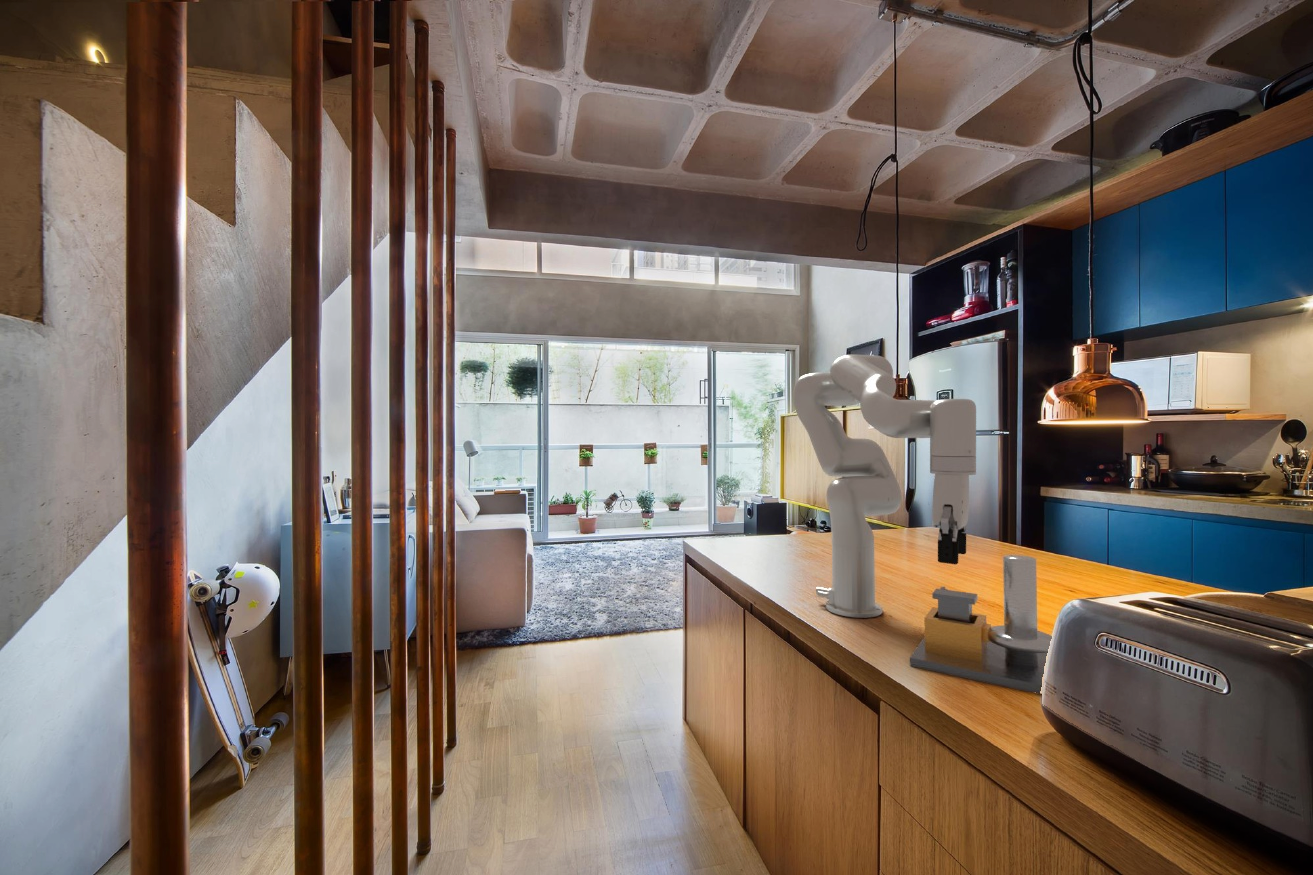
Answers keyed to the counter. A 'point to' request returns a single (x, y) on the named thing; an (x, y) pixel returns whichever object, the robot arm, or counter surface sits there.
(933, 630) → the post
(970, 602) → the tall grey pillar block
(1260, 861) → the counter surface
